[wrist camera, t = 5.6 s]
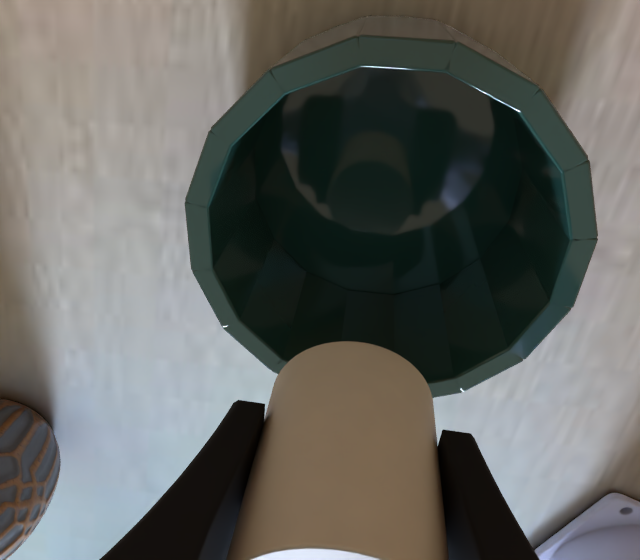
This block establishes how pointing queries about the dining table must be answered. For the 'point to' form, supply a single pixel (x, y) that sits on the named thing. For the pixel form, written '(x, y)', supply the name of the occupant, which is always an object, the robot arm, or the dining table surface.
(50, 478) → the vase
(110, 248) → the dining table surface
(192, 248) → the dark green bowl
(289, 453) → the candle
